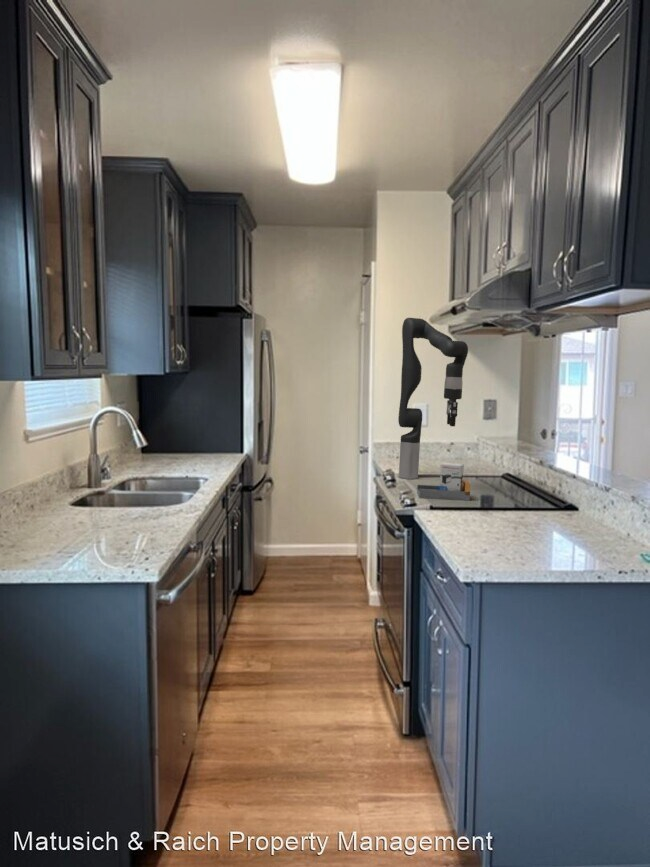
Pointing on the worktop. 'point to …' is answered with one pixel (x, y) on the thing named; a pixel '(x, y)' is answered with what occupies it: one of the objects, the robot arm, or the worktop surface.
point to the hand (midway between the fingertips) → (450, 425)
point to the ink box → (451, 476)
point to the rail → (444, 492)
